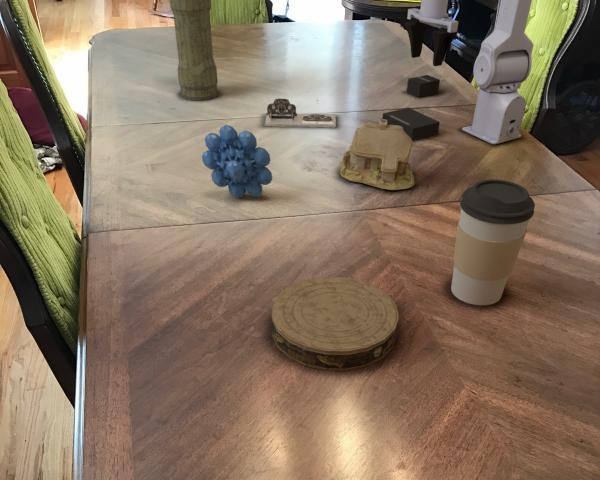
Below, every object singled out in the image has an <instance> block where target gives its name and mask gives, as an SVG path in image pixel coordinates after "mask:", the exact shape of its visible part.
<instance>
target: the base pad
mask: <svg viewBox="0 0 600 480" xmlns="http://www.w3.org/2000/svg"><path fill="white" fill-rule="evenodd" d="M381 119H386V120H387V124H388V125H399V126H401V127H402V128H403V130H404V132H405V133H406V134H407V135H408V136H409V137H410V138H411V139H412V141H413V142H414V141H418V140H421V139H424V138H425V139H426V138H429V137H433V136H436V135H439V129H440V124H441V122H440V121H439V120H436V119H434V118H432V117H430V116H428V115H425V114H423V113H421V112H419V111H417V110H415V109H413V108H411V107H406V108H405V107H404V108H401V109H397V110H392V111H387V112H383V113H382V118H381Z"/></svg>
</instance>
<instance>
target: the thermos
mask: <svg viewBox="0 0 600 480" xmlns="http://www.w3.org/2000/svg"><path fill="white" fill-rule="evenodd" d="M169 7H170V10H171V13H172V16H173V21H174V23H173V24H174V32H175V40H176V41H175V42H176V47H177V48H176V49H177V59H178V66H177V79H178V85H179V87H180V96H181V97H182V99H185V100H188V101H198V102H199V101H200V102H201V101H208V100H212V99H215V98H217V96H219V91H218V82H219V80H218V71H217V70H218V69H217V65H216V62H215V59H214V50H213V49H214V48H213V47H214V46H213V38H212V37H213V35H212V23H211V13H210V12H211V8H212V0H169Z"/></svg>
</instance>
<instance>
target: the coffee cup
mask: <svg viewBox="0 0 600 480" xmlns="http://www.w3.org/2000/svg"><path fill="white" fill-rule="evenodd" d="M459 206H460V213H459V218H458V220H457V226H456V227H457V228H456V235H455V236H456V237H455V245H454V252H453V271H452V278H451V285H450V286H451V287H450V291H451V293H452V294H453V296H454V297H456V298H457V299H458V300H459V301H462V302H464V303H466V304H469V305H475V306H490V305H493V304H496V303H498V302H499V301H500V300H501V298H502V295H503V293H504V290H505V288H506V285H507V282H508V280H509V277H510V275H511V274H512V272H513V270H514V267H515V264H516V261H517V258H518V256H519V253H520V250H521V248H522V245H523V242H524V239H525V237H526V234H527V228H528V226H529V223H530V220H531V218H533V216H534V215H535V208H536V204H535V201H534V199H533V198H532V197H531V196H530V193H529V191H528V190H527V188H525V187H524V186H523V185H520V184H519V183H515V182H513V181H509V180H504V179H493V178H491V179H484V180H483V179H482V180H480V181H477V182H475V183H474V184H473V186H470V187H468V188H467V189H465V190H464V191H463V192H462V195H461V199H460V202H459Z"/></svg>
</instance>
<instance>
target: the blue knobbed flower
mask: <svg viewBox="0 0 600 480" xmlns="http://www.w3.org/2000/svg"><path fill="white" fill-rule="evenodd" d="M218 132H219V134H218V133H214V132H210V133H208V134H206V136H205V138H204V143H205V146H206V148H207V150H205V151H204V152H202V155H201V159H202V163H203V165H204V166H205V167H206V168H207V169H209V170H212V172H211V174H210V176H211V181H212V183H214V185H215V186H217V187H219V188H225V187H228V192H229V193H230V194H231V196H232V197H235V198H239V199H240V198H243V197H245V195H246V193H247V194H248V195H249V196H251V197H253V198H258V197H259V196H261V195H262V194H263V186H268V185H269V184H271V183H272V181H273V173H272V171H271V170H270V169H269V168H268V167H267V166H269V165H270V163H271V154H270V153H269V152H268V150H267V149H266V148H264V147H261V146H257V145H258V142H257V141H258V140H257V138H256V136H255V135H254V134H253V133H252V132H251V131H249V130H242V131H241V132H239V133H238V132H237V130H236V129H235V128H234V126H232V125H229V124H225V125H222V126H221V127H220V128H219V131H218Z"/></svg>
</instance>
